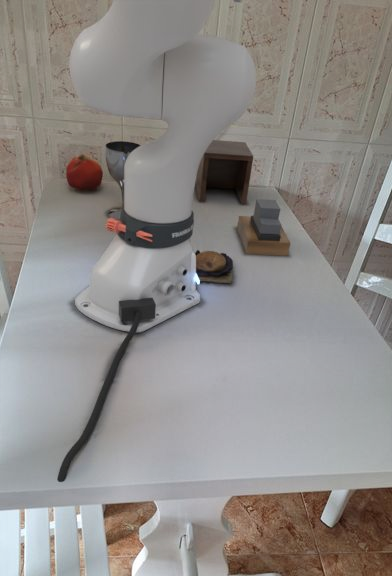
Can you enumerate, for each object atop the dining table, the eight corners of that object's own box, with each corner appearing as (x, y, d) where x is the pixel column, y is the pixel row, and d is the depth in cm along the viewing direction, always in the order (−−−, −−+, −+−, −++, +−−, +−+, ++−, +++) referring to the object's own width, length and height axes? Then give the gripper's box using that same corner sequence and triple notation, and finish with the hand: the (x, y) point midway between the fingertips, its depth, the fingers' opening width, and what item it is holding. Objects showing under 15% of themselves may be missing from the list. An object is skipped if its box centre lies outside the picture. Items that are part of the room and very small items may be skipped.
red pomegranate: (96, 181, 128) (94, 149, 123) (109, 193, 122) (108, 160, 117) (61, 184, 124) (58, 151, 119) (73, 197, 118) (71, 163, 113)
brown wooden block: (287, 255, 103) (290, 242, 101) (246, 253, 102) (248, 240, 100) (274, 230, 114) (277, 217, 112) (236, 228, 112) (238, 215, 111)
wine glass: (104, 208, 115) (102, 141, 105) (137, 207, 117) (138, 141, 108) (109, 221, 109) (108, 152, 100) (144, 220, 111) (146, 152, 102)
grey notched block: (250, 220, 109) (254, 196, 106) (270, 221, 109) (274, 197, 106) (258, 240, 101) (263, 214, 98) (279, 241, 102) (285, 215, 98)
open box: (245, 204, 125) (253, 156, 118) (199, 201, 124) (204, 152, 116) (238, 187, 134) (245, 142, 127) (195, 185, 133) (199, 138, 126)
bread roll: (233, 286, 91) (236, 268, 89) (188, 281, 91) (190, 264, 89) (231, 259, 100) (233, 242, 97) (190, 255, 99) (191, 238, 97)
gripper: (159, -96, 80) (159, 3, 91) (281, -89, 82) (267, 8, 93) (158, -104, 84) (158, -7, 95) (274, -96, 86) (262, -3, 97)
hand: (213, 0), depth 94 cm, fingers open, 8 cm apart
